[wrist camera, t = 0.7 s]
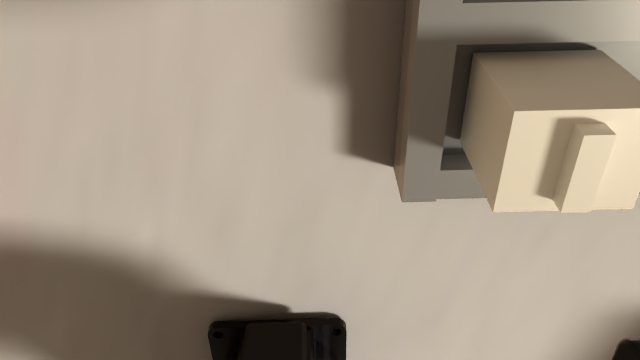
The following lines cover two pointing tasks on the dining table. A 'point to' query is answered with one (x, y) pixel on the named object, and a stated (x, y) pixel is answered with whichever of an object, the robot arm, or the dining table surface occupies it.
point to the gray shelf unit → (455, 65)
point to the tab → (553, 131)
